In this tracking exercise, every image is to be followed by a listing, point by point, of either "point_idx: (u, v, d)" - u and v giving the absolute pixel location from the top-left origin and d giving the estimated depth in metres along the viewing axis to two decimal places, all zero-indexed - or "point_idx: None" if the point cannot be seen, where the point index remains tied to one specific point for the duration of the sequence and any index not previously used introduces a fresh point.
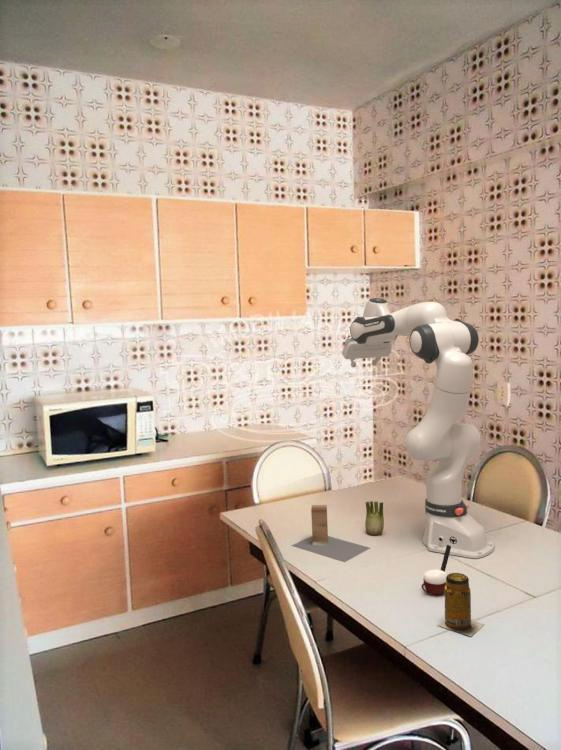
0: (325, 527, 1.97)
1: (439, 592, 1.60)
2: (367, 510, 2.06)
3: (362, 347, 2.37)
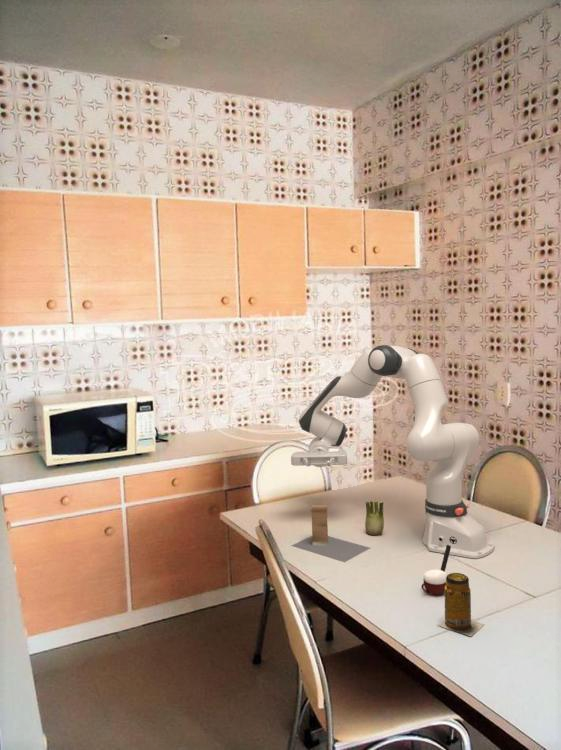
0: (325, 527, 1.97)
1: (439, 592, 1.60)
2: (367, 510, 2.06)
3: (310, 453, 2.20)
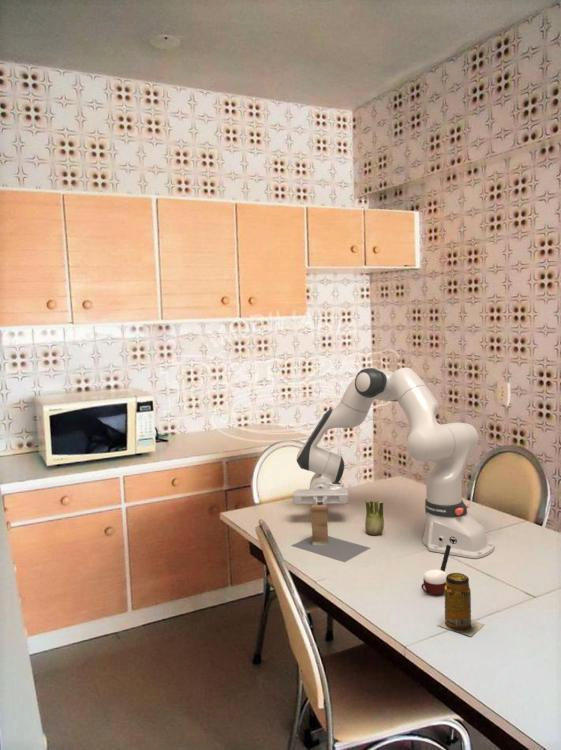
0: (325, 527, 1.97)
1: (439, 591, 1.60)
2: (367, 510, 2.06)
3: (311, 490, 2.22)
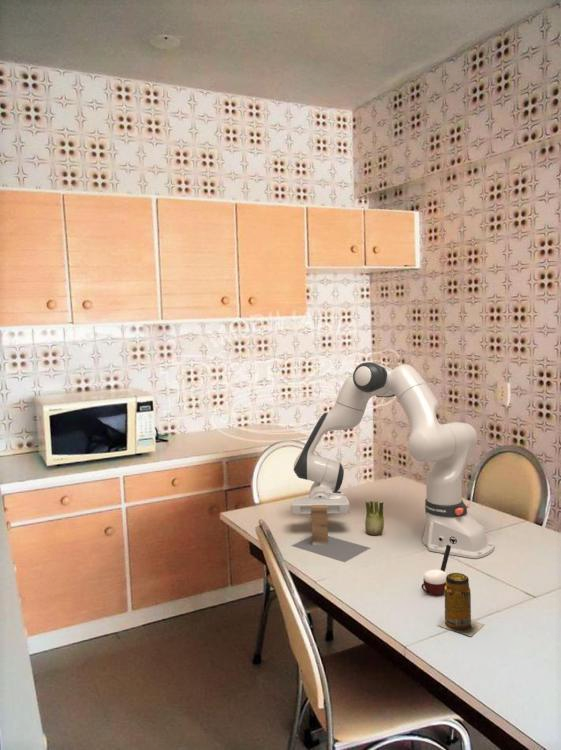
0: (325, 528, 1.97)
1: (439, 592, 1.60)
2: (367, 510, 2.06)
3: (310, 500, 2.12)
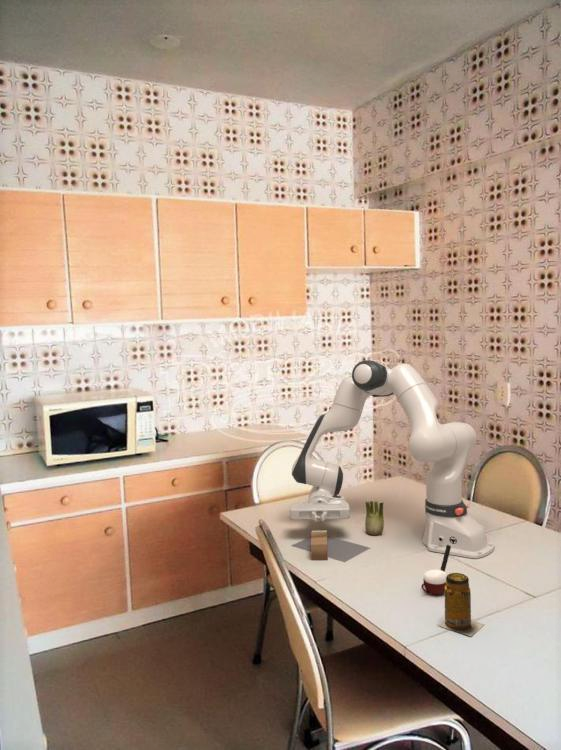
0: None
1: (439, 592, 1.60)
2: (367, 510, 2.06)
3: (310, 505, 2.06)
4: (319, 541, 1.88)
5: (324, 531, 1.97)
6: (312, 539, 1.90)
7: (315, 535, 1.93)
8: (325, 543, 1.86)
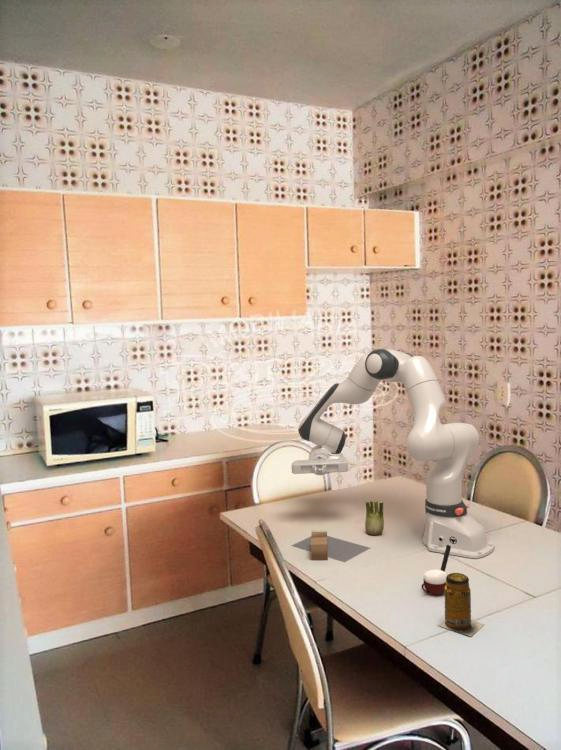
0: None
1: (439, 592, 1.60)
2: (367, 510, 2.06)
3: (310, 461, 2.20)
4: (319, 541, 1.88)
5: (324, 531, 1.97)
6: (312, 539, 1.90)
7: (315, 535, 1.93)
8: (325, 543, 1.86)
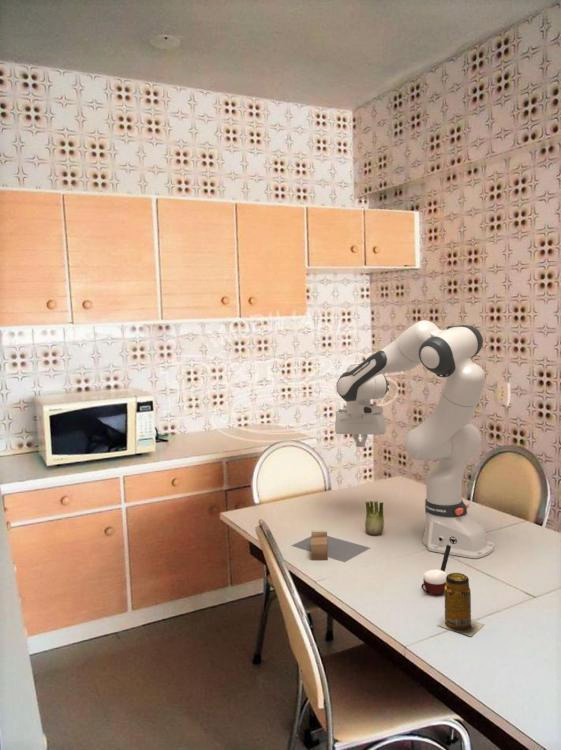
0: None
1: (439, 592, 1.60)
2: (367, 510, 2.06)
3: (349, 420, 2.20)
4: (319, 541, 1.88)
5: (324, 531, 1.97)
6: (312, 539, 1.90)
7: (315, 535, 1.93)
8: (325, 543, 1.86)
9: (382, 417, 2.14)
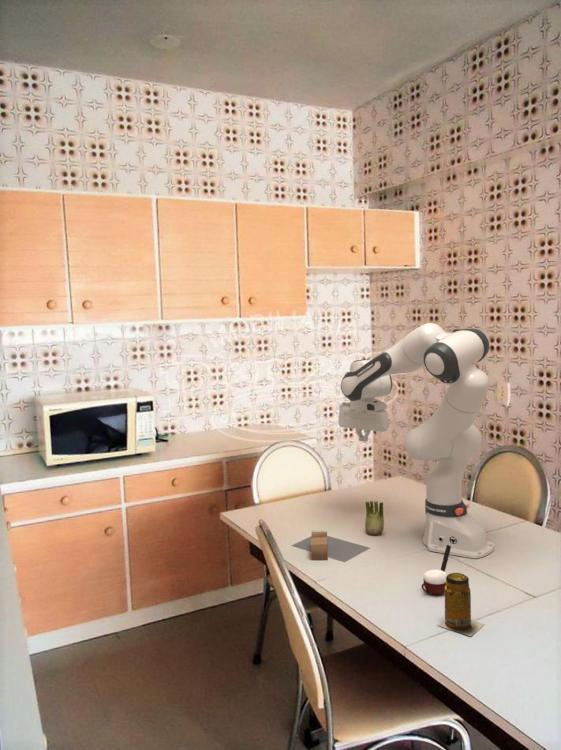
0: None
1: (439, 592, 1.60)
2: (367, 510, 2.06)
3: (352, 414, 2.20)
4: (319, 541, 1.88)
5: (324, 531, 1.97)
6: (312, 539, 1.90)
7: (315, 535, 1.93)
8: (325, 543, 1.86)
9: (385, 414, 2.13)
